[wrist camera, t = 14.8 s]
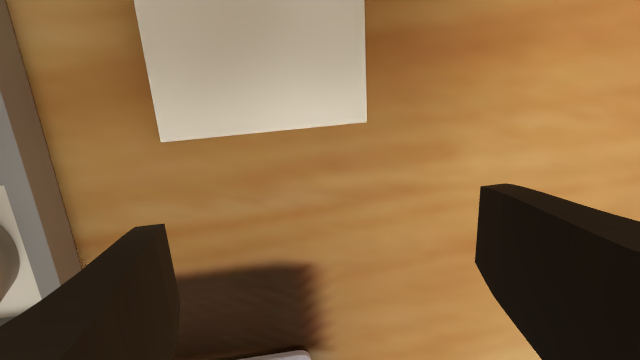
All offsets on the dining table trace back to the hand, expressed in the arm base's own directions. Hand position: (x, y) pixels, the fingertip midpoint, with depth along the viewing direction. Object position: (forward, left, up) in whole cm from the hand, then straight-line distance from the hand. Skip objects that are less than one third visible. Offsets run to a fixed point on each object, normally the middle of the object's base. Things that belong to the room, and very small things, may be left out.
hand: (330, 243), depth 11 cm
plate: (+4, +1, -9) cm, 10 cm away
